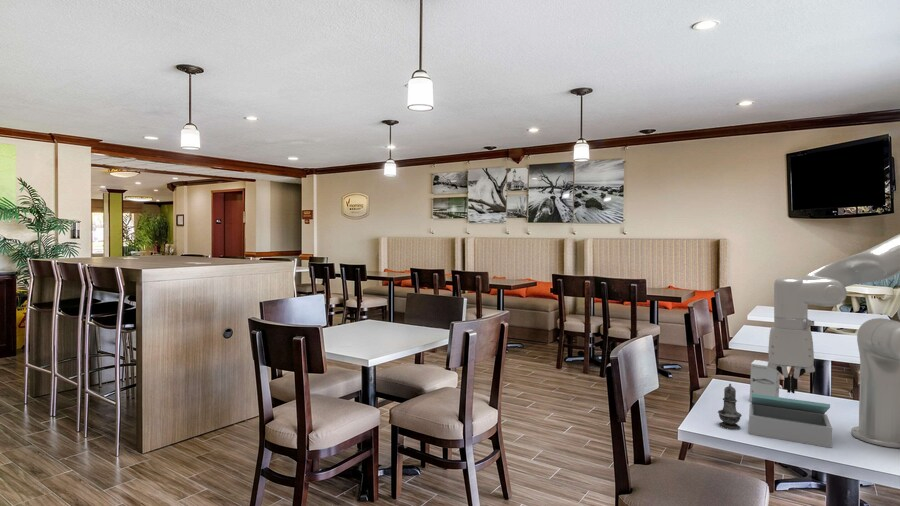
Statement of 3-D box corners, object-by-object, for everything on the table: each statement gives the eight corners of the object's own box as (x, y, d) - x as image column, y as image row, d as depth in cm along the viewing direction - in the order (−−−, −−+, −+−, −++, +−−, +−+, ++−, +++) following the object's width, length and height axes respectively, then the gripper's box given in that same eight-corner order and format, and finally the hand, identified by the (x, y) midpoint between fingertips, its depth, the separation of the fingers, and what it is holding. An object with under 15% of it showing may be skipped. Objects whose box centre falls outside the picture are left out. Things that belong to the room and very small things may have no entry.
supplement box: (749, 402, 167) (749, 363, 166) (753, 396, 172) (754, 359, 172) (775, 407, 162) (776, 366, 162) (779, 401, 168) (780, 362, 167)
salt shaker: (744, 426, 144) (745, 383, 144) (735, 431, 141) (736, 387, 140) (722, 420, 149) (723, 379, 149) (713, 425, 145) (714, 382, 145)
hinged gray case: (826, 432, 140) (826, 414, 140) (831, 448, 130) (832, 428, 130) (749, 420, 149) (749, 403, 149) (748, 433, 139) (749, 415, 139)
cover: (824, 414, 140) (824, 410, 140) (830, 408, 130) (829, 403, 130) (751, 404, 149) (751, 399, 149) (751, 397, 139) (751, 392, 139)
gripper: (823, 323, 138) (823, 392, 139) (758, 320, 146) (758, 384, 147) (826, 328, 132) (826, 399, 132) (758, 324, 140) (758, 391, 140)
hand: (790, 391), depth 139 cm, fingers closed
